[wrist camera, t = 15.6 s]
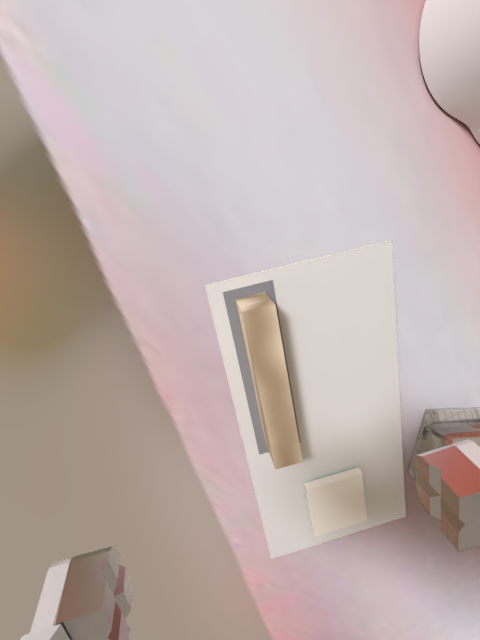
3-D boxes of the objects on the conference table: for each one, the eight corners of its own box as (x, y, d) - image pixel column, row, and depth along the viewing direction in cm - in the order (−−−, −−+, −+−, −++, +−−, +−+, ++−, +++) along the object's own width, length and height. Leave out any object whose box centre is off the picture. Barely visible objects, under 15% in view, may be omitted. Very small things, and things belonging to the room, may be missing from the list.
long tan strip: (264, 291, 39) (275, 304, 35) (291, 438, 46) (302, 461, 42) (235, 299, 39) (242, 313, 35) (266, 445, 45) (275, 469, 42)
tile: (362, 472, 48) (367, 520, 51) (357, 465, 49) (362, 512, 52) (306, 489, 47) (314, 536, 50) (303, 481, 48) (311, 528, 51)
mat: (390, 239, 40) (392, 240, 39) (404, 514, 54) (406, 517, 54) (204, 284, 38) (205, 286, 38) (270, 556, 52) (271, 559, 52)
